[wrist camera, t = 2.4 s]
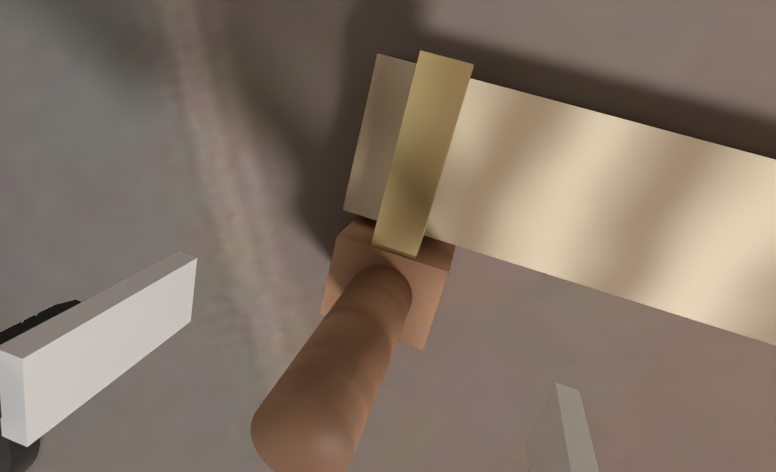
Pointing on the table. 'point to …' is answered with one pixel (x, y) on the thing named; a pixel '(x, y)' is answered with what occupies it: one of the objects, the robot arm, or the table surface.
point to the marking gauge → (370, 292)
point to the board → (591, 200)
